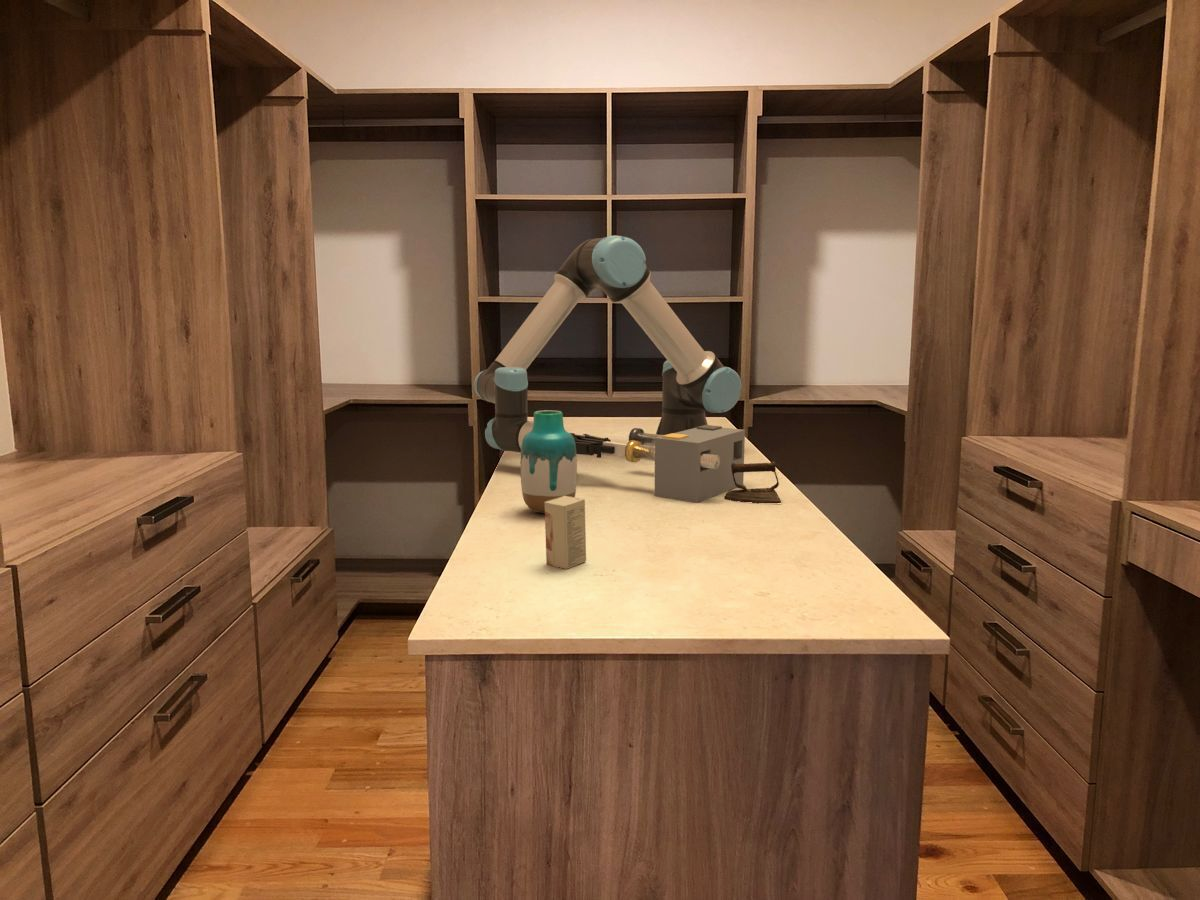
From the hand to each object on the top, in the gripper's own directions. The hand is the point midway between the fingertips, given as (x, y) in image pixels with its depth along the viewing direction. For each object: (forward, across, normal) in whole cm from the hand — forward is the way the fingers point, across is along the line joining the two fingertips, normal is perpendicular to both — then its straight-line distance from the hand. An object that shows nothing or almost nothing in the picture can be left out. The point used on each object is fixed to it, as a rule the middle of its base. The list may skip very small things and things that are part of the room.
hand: (629, 451), depth 187 cm
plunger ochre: (+10, 0, -2) cm, 11 cm away
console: (+13, -7, -8) cm, 17 cm away
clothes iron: (+26, -6, -8) cm, 28 cm away
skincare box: (+22, +48, -8) cm, 54 cm away
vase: (-1, +26, -8) cm, 27 cm away
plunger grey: (+2, -14, -2) cm, 15 cm away
